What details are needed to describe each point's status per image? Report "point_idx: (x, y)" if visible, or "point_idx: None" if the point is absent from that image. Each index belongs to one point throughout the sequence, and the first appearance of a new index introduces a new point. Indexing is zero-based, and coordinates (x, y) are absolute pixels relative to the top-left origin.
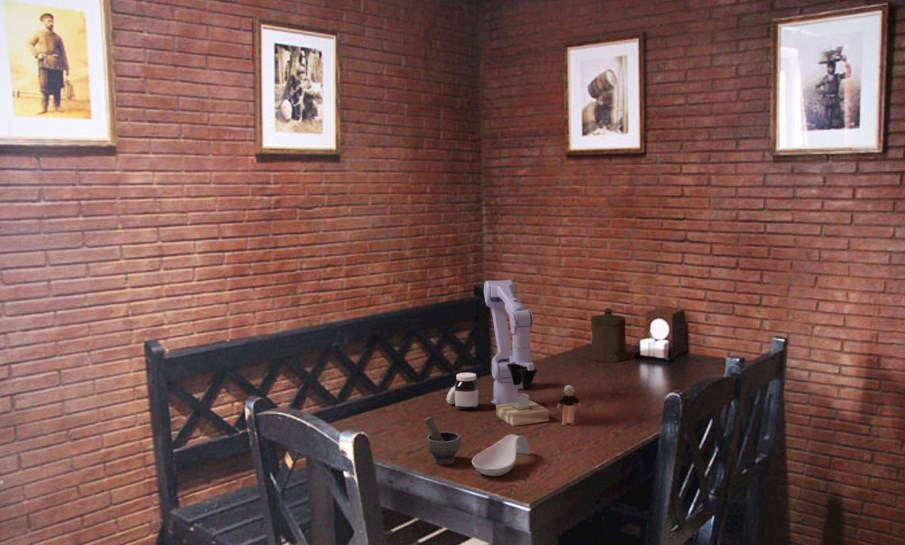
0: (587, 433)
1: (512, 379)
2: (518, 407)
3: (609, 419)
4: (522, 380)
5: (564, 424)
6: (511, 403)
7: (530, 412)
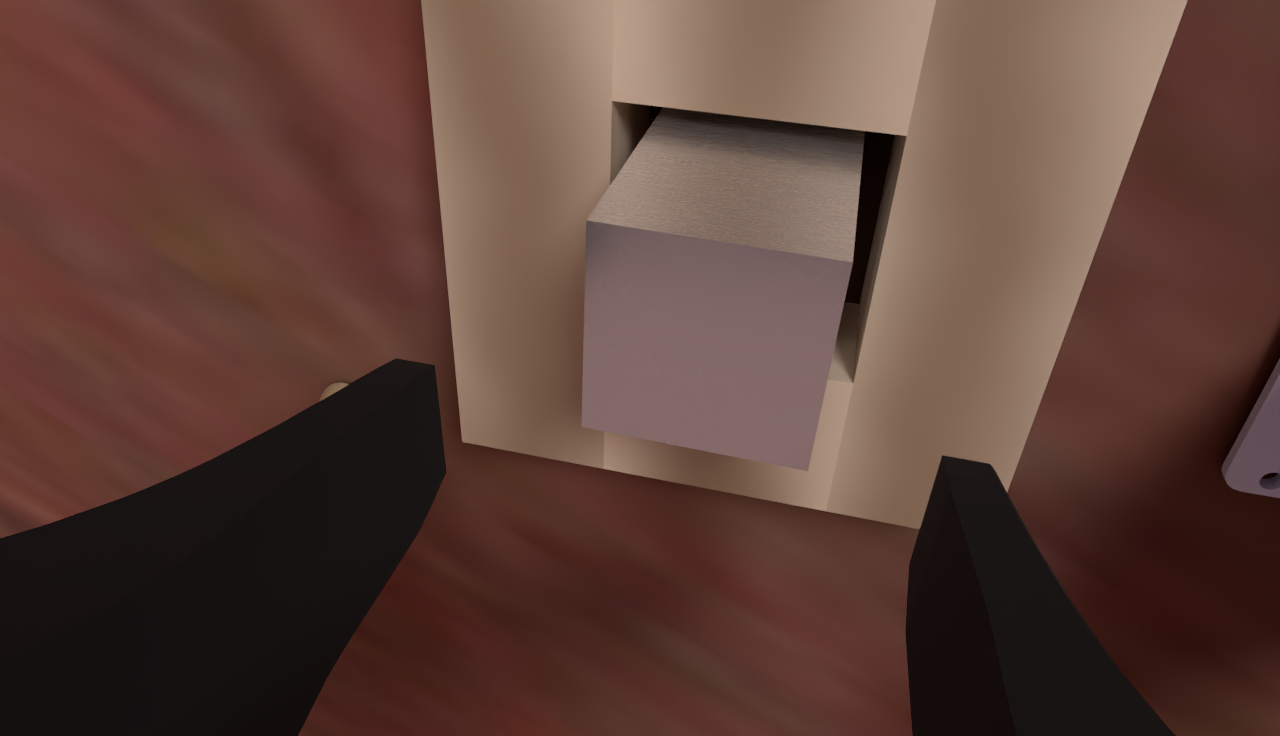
0: (67, 398)
1: (1027, 544)
2: (641, 146)
3: (375, 703)
4: (258, 479)
5: (321, 398)
6: (1072, 246)
7: (456, 210)
